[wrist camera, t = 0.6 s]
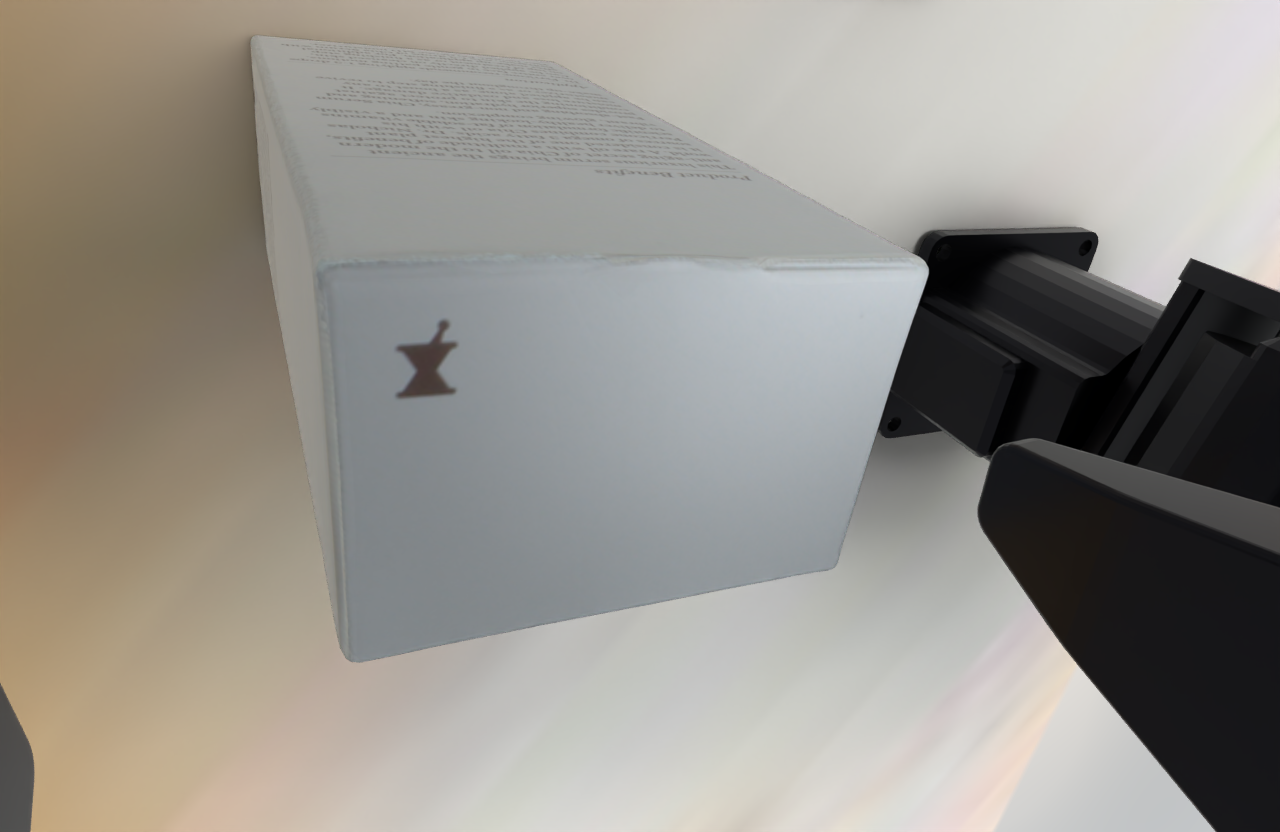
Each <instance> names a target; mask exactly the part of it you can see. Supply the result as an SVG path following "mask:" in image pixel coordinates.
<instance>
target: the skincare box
mask: <svg viewBox="0 0 1280 832" xmlns="http://www.w3.org/2000/svg"><path fill="white" fill-rule="evenodd" d="M250 43H251V58H252V74H253V90H254V105H255V121H256V137H257V152H258V164H259V176H260V186H261V196H262V206H263V215H264V225H265V237H266V249H267V255H268V261H269V265H270V271H271V277H272V284H273V290H274V296H275V301H276V306H277V312H278V317H279V322H280V327H281V332H282V338H283V344H284V349H285V354H286V359H287V364H288V370H289V376H290V382H291V387H292V392H293V398H294V403H295V409H296V414H297V419H298V425H299V430H300V436H301V441H302V447H303V452H304V458H305V464H306V469H307V475H308V480H309V485H310V491H311V496H312V501H313V507H314V513H315V518H316V523H317V529H318V533H319V538H320V542H321V547H322V552H323V558H324V566H325V572H326V578H327V583H328V589H329V595H330V600H331V606H332V612H333V617H334V622H335V628H336V632H337V636H338V641H339V645H340V649H341V650H342V652H343V654H344V656H345V658H346V659H348V660H349V661H351V662H359V663H360V662H365V661H370V660H375V659H380V658H385V657H390V656H395V655H399V654H404V653H409V652H413V651H418V650H422V649H427V648H431V647H436V646H441V645H445V644H450V643H455V642H460V641H465V640H470V639H475V638H481V637H486V636H491V635H496V634H501V633H506V632H510V631H515V630H520V629H524V628H529V627H534V626H539V625H544V624H550V623H555V622H560V621H566V620H571V619H576V618H582V617H587V616H592V615H597V614H602V613H608V612H613V611H618V610H623V609H628V608H634V607H639V606H644V605H649V604H654V603H659V602H664V601H669V600H674V599H679V598H684V597H689V596H694V595H699V594H704V593H709V592H713V591H718V590H723V589H729V588H734V587H739V586H745V585H750V584H755V583H761V582H766V581H771V580H776V579H781V578H786V577H791V576H795V575H801V574H807V573H813V572H820V571H827V570H830V569H832V568H834V567H835V566H836V565H837V562H838V559H839V555H840V552H841V548H842V544H843V541H844V538H845V535H846V531H847V528H848V525H849V522H850V519H851V515H852V512H853V509H854V505H855V502H856V499H857V495H858V492H859V489H860V485H861V482H862V478H863V475H864V472H865V469H866V465H867V462H868V459H869V456H870V452H871V449H872V446H873V443H874V439H875V436H876V433H877V430H878V427H879V423H880V420H881V417H882V414H883V410H884V407H885V404H886V401H887V397H888V394H889V391H890V388H891V384H892V381H893V378H894V375H895V372H896V369H897V365H898V362H899V359H900V356H901V353H902V350H903V347H904V344H905V341H906V338H907V336H908V333H909V330H910V327H911V324H912V321H913V318H914V315H915V312H916V309H917V307H918V304H919V301H920V298H921V295H922V293H923V290H924V287H925V284H926V281H927V278H928V275H929V268H928V266H927V264H926V263H925V261H924V260H923V259H921V258H920V257H919V256H917V255H915V254H913V253H911V252H909V251H907V250H905V249H903V248H901V247H899V246H897V245H895V244H893V243H891V242H889V241H888V240H886V239H884V238H882V237H880V236H878V235H877V234H875V233H873V232H871V231H869V230H867V229H866V228H864V227H862V226H860V225H858V224H856V223H854V222H853V221H851V220H849V219H847V218H845V217H843V216H840V215H838V214H837V213H835V212H834V211H832V210H831V209H829V208H827V207H825V206H823V205H821V204H820V203H818V202H816V201H814V200H812V199H810V198H808V197H806V196H805V195H803V194H801V193H799V192H797V191H795V190H793V189H791V188H790V187H788V186H786V185H784V184H782V183H781V182H779V181H777V180H775V179H773V178H771V177H769V176H767V175H765V174H763V173H762V172H760V171H758V170H756V169H755V168H753V167H751V166H749V165H747V164H745V163H743V162H741V161H739V160H737V159H735V158H733V157H731V156H729V155H728V154H726V153H724V152H722V151H720V150H718V149H716V148H714V147H713V146H711V145H709V144H707V143H705V142H703V141H702V140H700V139H698V138H696V137H694V136H692V135H691V134H689V133H687V132H685V131H683V130H681V129H679V128H677V127H675V126H673V125H671V124H669V123H667V122H666V121H664V120H662V119H660V118H658V117H656V116H654V115H652V114H650V113H649V112H647V111H645V110H643V109H641V108H639V107H637V106H635V105H634V104H632V103H630V102H628V101H626V100H624V99H622V98H620V97H618V96H616V95H614V94H612V93H611V92H609V91H607V90H605V89H604V88H602V87H600V86H598V85H596V84H594V83H592V82H591V81H589V80H587V79H585V78H583V77H581V76H579V75H578V74H576V73H574V72H572V71H570V70H568V69H566V68H565V67H563V66H561V65H559V64H557V63H554V62H548V61H538V60H528V59H517V58H506V57H496V56H484V55H472V54H460V53H450V52H439V51H429V50H418V49H407V48H396V47H385V46H374V45H362V44H350V43H338V42H327V41H316V40H305V39H293V38H281V37H271V36H261V35H255V36H253V37H252V39H251V42H250Z"/></svg>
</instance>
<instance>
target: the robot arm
mask: <svg viewBox="0 0 1280 832" xmlns="http://www.w3.org/2000/svg"><path fill="white" fill-rule="evenodd" d="M941 246H942V248H941V250H940V252H939V253H938V254H937V251H938V249H939V248H940V247H941ZM1097 246H1098V236H1097V235H1096V233H1094V232H1092V231H1089V230H1087V229H1084V228H1044V229H997V230H951V231H936V232H933V233H932V234H930V235H929V236H928V237H927V238H926V239H925V240H924V242H923V244H922V246H921V248H920V252H919V257H920V258H921V259H923V260H924V261H925V263H926V264H927V266H928V268H929V275H928V278H927V281H926V284H925V287H924V290H923V293H922V295H921V298H920V301H919V304H918V307H917V309H916V312H915V315H914V318H913V321H912V324H911V327H910V330H909V333H908V336H907V338H906V341H905V344H904V347H903V350H902V353H901V356H900V359H899V362H898V365H897V369H896V372H895V375H894V378H893V381H892V384H891V388H890V391H889V394H888V397H887V401H886V404H885V407H884V410H883V414H882V417H881V420H880V423H879V427H878V430H877V431H878V432H879V433H880V434H881V435H882V436H884V437H885V438H896V437H903V436H910V435H917V434H925V433H932V432H939V431H944V432H945V433H946V434H948V435H949V436H950V437H952V438H953V439H954V440H956V441H957V442H958V443H960V444H961V445H962V446H964V447H965V448H966V449H968V450H969V451H971V452H972V453H973V454H975V455H976V456H978V457H984V458H985V459H986V460H988V461H989V462H990V465H989V468H988V472H987V475H986V479H985V482H984V486H983V489H982V493H981V497H980V500H979V504H978V520H979V523H980V526H981V528H982V530H983V532H984V533H985V535H986V536H987V538H988V539H989V541H990V542H991V544H992V545H993V547H994V548H995V549H996V551H997V552H998V554H999V555H1000V557H1001V558H1002V560H1003V561H1004V563H1005V564H1006V565H1007V567H1008V568H1009V570H1010V571H1011V573H1012V574H1013V576H1014V577H1015V579H1016V580H1017V581H1018V583H1019V584H1020V586H1021V587H1022V589H1023V590H1024V592H1025V593H1026V595H1027V596H1028V597H1029V599H1030V600H1031V602H1032V603H1033V605H1034V606H1035V608H1036V609H1037V610H1038V612H1039V613H1040V615H1041V616H1042V618H1043V619H1044V621H1045V622H1046V624H1047V625H1048V626H1049V628H1050V629H1051V631H1052V632H1053V633H1054V635H1055V636H1056V638H1057V639H1058V640H1059V642H1060V643H1061V644H1062V646H1063V647H1064V648H1065V650H1066V651H1067V652H1068V653H1069V655H1070V656H1071V657H1072V658H1073V660H1074V661H1075V662H1076V664H1077V665H1078V666H1079V667H1080V668H1081V669H1082V671H1083V672H1084V673H1085V674H1086V676H1087V677H1088V678H1089V679H1090V680H1091V682H1092V683H1093V684H1094V685H1095V686H1096V688H1097V689H1098V690H1099V691H1100V693H1101V694H1102V695H1103V696H1104V697H1105V698H1106V700H1107V701H1108V702H1109V703H1110V705H1111V706H1112V707H1113V708H1114V709H1115V711H1116V712H1117V713H1118V714H1119V716H1121V718H1122V719H1123V720H1124V721H1125V723H1126V724H1127V725H1128V726H1129V728H1130V729H1131V730H1132V731H1133V732H1134V734H1135V735H1136V736H1137V737H1138V738H1139V739H1140V741H1141V742H1142V743H1143V745H1145V747H1146V748H1147V749H1148V751H1149V752H1150V753H1151V754H1152V755H1153V757H1154V758H1155V759H1156V760H1157V761H1158V763H1159V764H1160V765H1161V766H1162V767H1163V769H1164V770H1165V771H1166V772H1167V773H1168V774H1169V776H1170V777H1171V778H1172V780H1173V781H1174V782H1175V783H1176V784H1177V785H1178V787H1179V788H1180V789H1181V790H1182V792H1183V793H1184V794H1185V795H1186V796H1187V798H1188V799H1189V800H1190V801H1191V802H1192V804H1193V805H1194V806H1195V807H1196V809H1197V810H1198V811H1199V812H1200V813H1201V815H1202V816H1203V817H1204V818H1205V819H1206V820H1207V822H1208V823H1209V824H1210V825H1211V827H1212V828H1213V829H1214V830H1215V831H1216V832H1280V291H1278V290H1276V289H1273V288H1270V287H1268V286H1265V285H1262V284H1259V283H1257V282H1254V281H1251V280H1249V279H1246V278H1243V277H1240V276H1238V275H1235V274H1232V273H1230V272H1227V271H1224V270H1221V269H1219V268H1216V267H1213V266H1211V265H1208V264H1205V263H1202V262H1200V261H1197V260H1194V259H1192V258H1190V260H1189V262H1188V263H1187V265H1186V267H1185V268H1184V270H1183V272H1182V273H1181V275H1180V277H1179V278H1178V279H1179V280H1181V283H1180V284H1179V286H1178V288H1177V289H1176V291H1175V293H1174V294H1173V296H1172V298H1171V299H1170V301H1169V303H1168V304H1167V306H1164V305H1161V304H1159V303H1157V302H1154V301H1152V300H1150V299H1148V298H1145V297H1143V296H1141V295H1139V294H1136V293H1134V292H1132V291H1129V290H1127V289H1125V288H1123V287H1120V286H1118V285H1116V284H1114V283H1111V282H1109V281H1107V280H1104V279H1102V278H1100V277H1098V276H1095V275H1093V274H1091V273H1089V272H1088V270H1089V268H1090V265H1091V262H1092V260H1093V257H1094V254H1095V252H1096V249H1097ZM889 421H891V422H889ZM33 789H34V760H33V753H32V750H31V746H30V743H29V741H28V739H27V737H26V735H25V733H24V731H23V729H22V727H21V725H20V722H19V720H18V718H17V716H16V714H15V712H14V710H13V708H12V706H11V704H10V702H9V700H8V698H7V696H6V694H5V692H4V690H3V688H2V686H1V684H0V832H30V831H31V817H32V803H33Z"/></svg>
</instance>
